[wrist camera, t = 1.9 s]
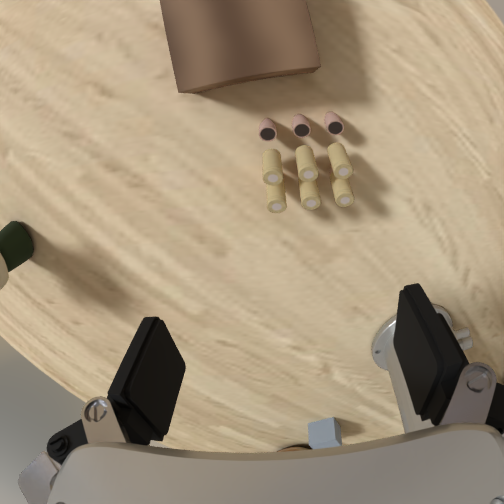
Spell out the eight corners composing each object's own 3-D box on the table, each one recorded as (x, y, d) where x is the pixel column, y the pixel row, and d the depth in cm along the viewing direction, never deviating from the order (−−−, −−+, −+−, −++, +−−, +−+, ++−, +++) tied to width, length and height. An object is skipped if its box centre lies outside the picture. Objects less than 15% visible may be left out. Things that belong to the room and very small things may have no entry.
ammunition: (355, 209, 24) (349, 113, 20) (268, 217, 25) (253, 121, 21) (344, 192, 28) (337, 110, 24) (269, 199, 29) (257, 118, 25)
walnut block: (289, -26, 18) (291, -48, 13) (312, 72, 23) (320, 66, 18) (174, -3, 19) (156, -18, 15) (194, 93, 24) (178, 92, 20)
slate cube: (333, 416, 47) (335, 439, 43) (340, 426, 49) (342, 447, 45) (308, 423, 49) (308, 445, 44) (316, 432, 50) (317, 453, 46)
